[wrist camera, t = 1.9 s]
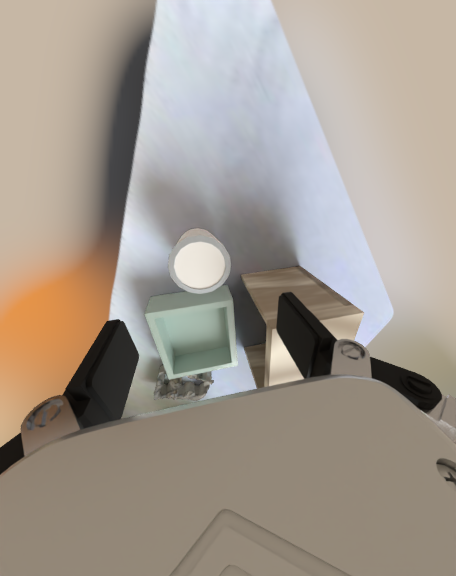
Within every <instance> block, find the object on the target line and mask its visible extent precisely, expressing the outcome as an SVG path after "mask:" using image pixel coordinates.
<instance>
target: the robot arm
mask: <svg viewBox="0 0 456 576" xmlns="http://www.w3.org/2000/svg"><path fill="white" fill-rule="evenodd" d="M276 330H277V333H278V335H279V337H280V338H281V340H282V342H283V344H284V345H285V347H286V349H287V350H288V352H289V354H290V356H291V357H292V359H293V361H294V362H295V364H296V366H297V368H298V369H299V371H300V373H301V375H302V376H303V378H304V379H301V380H296V381H291V382H286V383H281V384H277V385H272V386H267V387H263V388H258V389H253V390H249V391H244V392H239V393H235V394H230V395H226V396H221V397H216V398H212V399H207V400H203V401H198V402H194V403H189V404H185V405H180V406H176V407H171V408H167V409H163V410H158V411H154V412H149V413H145V414H140V415H136V416H132V417H128V418H123V419H121V417H122V414H123V410H124V407H125V404H126V400H127V397H128V393H129V390H130V387H131V383H132V380H133V377H134V373H135V370H136V366H137V363H138V360H139V354H138V351H137V349H136V347H135V345H134V343H133V341H132V338H131V336H130V334H129V332H128V330H127V328H126V325H125V323H124V322H123V321H120V320H119V319H117V320H111V321H107V322H106V323H105V325H104V326H103V328H102V330H101V331H100V333H99V335H98V336H97V338H96V340H95V341H94V343H93V345H92V346H91V348H90V349H89V351H88V353H87V355H86V356H85V358H84V359H83V361H82V363H81V364H80V366H79V368H78V369H77V371H76V373H75V374H74V376H73V377H72V379H71V381H70V382H69V384H68V386H67V387H66V390H65V392H64V394H63V395H58V396H54V397H51V398H48V399H47V400H45V401H43V402H42V403H40V404H39V405H37V406H36V407H35V408H34V409H33V410H32V411H31V412H30V413H29V414H28V415H27V416H26V418H25V419H24V421H23V423H22V425H21V433H19V434H18V435H17V436H15V437H14V438H13V439H11V440H10V441H9V442H7V443H6V444H4V445H3V446H2V447H0V576H456V398H454V397H452V396H450V395H448V396H447V397H446V396H444V395H442V394H441V392H440V390H439V389H438V388H437V387H436V385H435V384H433V383H432V382H431V381H430V380H428V379H426V378H425V377H424V376H422V375H419V374H417V373H415V372H412V371H409V370H406V369H403V368H401V367H398V366H395V365H392V364H389V363H387V362H384V361H381V360H378V359H375V358H372V357H370V355H369V352H368V350H367V349H366V348H365V347H364V346H363V345H361V344H360V343H358V342H356V341H353V340H350V339H340V340H337V339H336V338H335V337H334V336H333V335H332V333H331V332H330V331H329V330H328V329H327V328H326V327H325V326H324V325H323V324H322V323H321V322H320V321H319V320H318V319H317V317H316V316H315V315H314V314H313V313H312V312H311V311H310V310H308V309H307V308H306V307H305V305H304V304H303V303H302V302H301V301H300V300H299V299H298V298H297V297H296V296H295V295H294V294H293V293H292V292H285V293H282V294H281V296H279V300H278V312H277V324H276Z"/></svg>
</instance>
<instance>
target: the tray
mask: <svg viewBox="0 0 456 576" xmlns="http://www.w3.org/2000/svg"><path fill="white" fill-rule="evenodd" d="M145 317H146V320H147V322H148V325H149V328H150V330H151V333H152V336H153V338H154V341H155V344H156V346H157V349H158V352H159V354H160V357H161V360H162V362H163V365H164V368H165V370H166V373H167V376H168V378H169V380H170V379H175V378H179V377H184V376H189V375H194V374H199V373H204V372H209V371H214V370H219V369H224V368H229V367H233V366H238V362H237V348H236V334H235V320H234V307H233V298H232V296H231V293H230V290H229V288H228V285H224V286H220V287H219V288H217V289H215V290H214V291H212V292H208V293H203V294H197V293H190V292H187V291H184V292H177V293H171V294H164V295H158V296H151V297H150V300H149V303H148V305H147V308H146V311H145Z"/></svg>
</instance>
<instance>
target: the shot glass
mask: <svg viewBox="0 0 456 576" xmlns="http://www.w3.org/2000/svg"><path fill="white" fill-rule="evenodd" d="M168 269H169V273H170V276H171V278H172V280H173V281H174V282H175V283H176V284H177V285H178V287H180V288H182V289H184V290H186V291H187V292H190V293H197V294H203V293H208V292H212V291H214V290H215V289H217V288H219V287H220V286H222V284H223V283H224V282H225V281H226V279H227V278H228V276H229V273H230V269H231V261H230V255H229V253H228V252H227V250H226V248H225V247H224V245H223V244H222V243H221V242H220V241H219V240H218V239H217V238H216V237H215V236H214V235H212V234H211V233H210V232H208V231H207V230H204V229H200V228H195V229H190V230H188V231H187V232H185V233H184V234H183V235H182V236H181V238H180V239H179V241H178V242H177V244H176V245H175V247H174V248H173V250H172V252H171V253H170V255H169V261H168Z"/></svg>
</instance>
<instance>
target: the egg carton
mask: <svg viewBox="0 0 456 576" xmlns="http://www.w3.org/2000/svg"><path fill="white" fill-rule="evenodd" d="M165 374H166V370H165V368H164V365H162V366H160V372H159V374H158V379H157V383H156V388H155V391H154V400H157V399H161V398H162V399H163V398H168V399H169V398H170V397H171V398H173V399H174V400H175V399H190V400H194V401H197V400H200V399H201V398H203V397H204V396H205V395H206V394H207V390H208V389H209V385H210V384H212V383H213V382H214V380H211V379H212V377H211V371H209V372H204V373H199V374H194V375H189V376H188V378H190V379H193V378H195V379H196V380H202V381H203V383H201V384H200V385H198V386H197V385H195V384H194V383H193V382H186V383H185V384H184V385H182V377H179V378H175V379H170V382H169V383H168V384H164V378H165Z"/></svg>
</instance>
